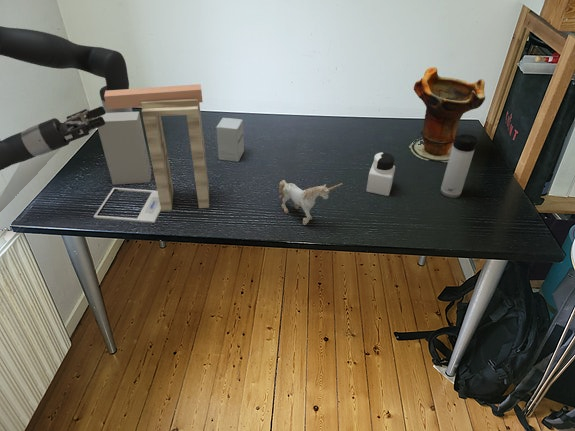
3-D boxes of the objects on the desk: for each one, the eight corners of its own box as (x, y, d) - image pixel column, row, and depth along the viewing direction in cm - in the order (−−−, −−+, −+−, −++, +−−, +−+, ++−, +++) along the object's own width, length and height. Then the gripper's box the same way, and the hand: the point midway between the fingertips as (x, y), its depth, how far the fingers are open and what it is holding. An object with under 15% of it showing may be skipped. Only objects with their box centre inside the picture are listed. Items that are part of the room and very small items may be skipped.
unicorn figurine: (328, 235, 129) (331, 197, 121) (268, 213, 136) (267, 176, 128) (338, 221, 134) (342, 183, 125) (280, 201, 141) (280, 164, 133)
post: (115, 174, 150) (99, 113, 137) (151, 172, 152) (139, 111, 138) (112, 184, 146) (95, 121, 132) (149, 182, 148) (136, 120, 134)
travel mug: (450, 200, 142) (467, 144, 130) (436, 189, 147) (451, 134, 134) (465, 195, 145) (483, 139, 132) (450, 184, 149) (467, 129, 137)
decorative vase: (470, 170, 155) (490, 91, 138) (401, 160, 162) (412, 84, 145) (471, 141, 171) (489, 67, 154) (408, 133, 177) (419, 61, 160)
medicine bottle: (392, 184, 149) (398, 152, 141) (388, 196, 144) (394, 164, 136) (370, 179, 151) (375, 148, 143) (366, 191, 145) (370, 159, 138)
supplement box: (239, 162, 158) (237, 129, 150) (218, 159, 159) (215, 126, 151) (244, 151, 163) (243, 119, 155) (224, 149, 164) (222, 116, 156)
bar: (108, 103, 119) (105, 90, 117) (201, 96, 123) (200, 84, 121) (107, 109, 117) (104, 96, 115) (202, 102, 121) (201, 89, 119)
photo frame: (154, 220, 132) (93, 216, 133) (154, 223, 132) (94, 219, 133) (169, 191, 143) (113, 186, 144) (169, 194, 144) (114, 189, 145)
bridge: (163, 191, 144) (144, 89, 123) (208, 188, 145) (197, 87, 124) (161, 210, 136) (140, 106, 115) (209, 207, 138) (197, 103, 117)
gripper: (33, 134, 113) (96, 110, 115) (40, 116, 125) (97, 94, 126) (50, 160, 118) (111, 136, 119) (56, 140, 129) (111, 118, 131)
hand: (104, 114), depth 123 cm, fingers open, 8 cm apart
